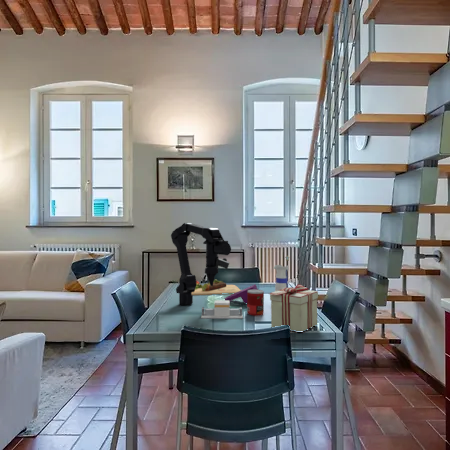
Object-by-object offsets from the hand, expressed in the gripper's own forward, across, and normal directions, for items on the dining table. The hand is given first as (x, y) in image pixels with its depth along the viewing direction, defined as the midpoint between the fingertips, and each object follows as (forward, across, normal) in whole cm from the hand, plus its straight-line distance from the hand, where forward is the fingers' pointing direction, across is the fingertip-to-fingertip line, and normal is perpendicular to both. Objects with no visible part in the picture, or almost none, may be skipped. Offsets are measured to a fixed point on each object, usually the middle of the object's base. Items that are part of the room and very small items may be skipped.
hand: (211, 285), depth 190 cm
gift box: (+13, -26, -34) cm, 45 cm away
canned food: (+13, -5, -21) cm, 25 cm away
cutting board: (+13, +50, +1) cm, 52 cm away
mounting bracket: (+13, +19, -16) cm, 28 cm away
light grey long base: (+12, -9, -5) cm, 16 cm away
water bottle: (+13, +24, -38) cm, 47 cm away
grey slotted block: (+12, -9, -5) cm, 16 cm away
